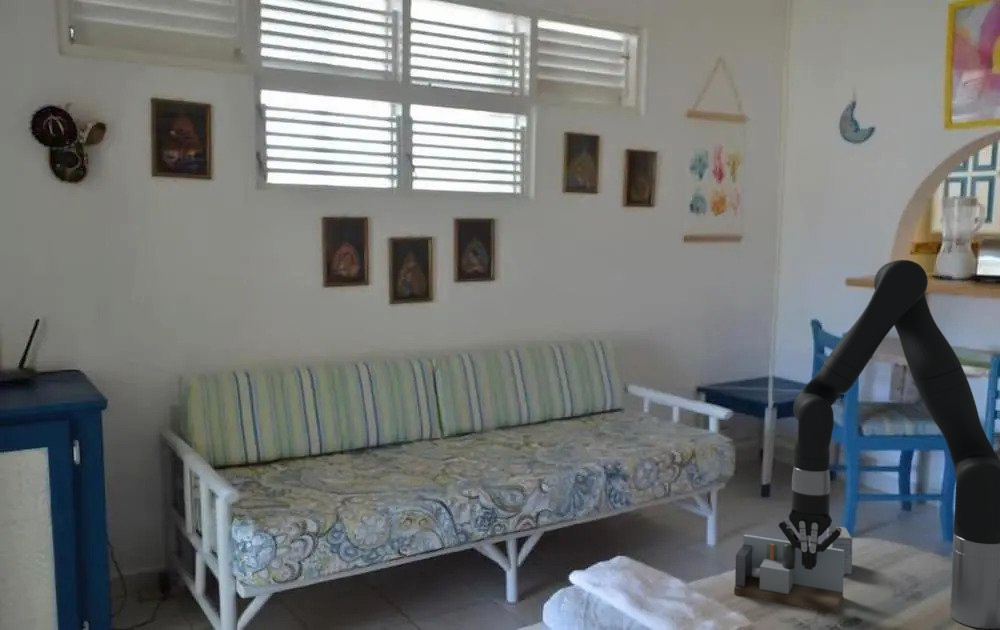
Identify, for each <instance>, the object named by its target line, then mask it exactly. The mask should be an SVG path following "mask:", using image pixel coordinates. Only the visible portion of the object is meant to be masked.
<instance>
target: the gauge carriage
mask: <svg viewBox="0 0 1000 630" xmlns="http://www.w3.org/2000/svg"><path fill="white" fill-rule="evenodd" d="M774 556H775V544H772V543H771V544H770V559H764V561H763V562H762V564H761V566H760V568H755V567H753V569H752V577H757V578H760V589H763V590H768V591H774V592H779V593H785V594H789V592H790V590H791V588H792V586H793V569H794V568H795V547H793V545H792V544H791V543H784V544H783V562H782V561H776V560H774Z"/></svg>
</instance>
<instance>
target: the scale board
mask: <svg viewBox="0 0 1000 630" xmlns="http://www.w3.org/2000/svg"><path fill="white" fill-rule="evenodd" d="M742 543H743V545H749V546H752V569H753V567H755V568H760V566H761V564H762V562H763V561H764V559H770V544H771V543H772V544H775V556H774V560H776V561H782V562H783V544H784V543H790V541H789V540H785V539H776V538H770V537H765V536H757V535H751V534H743V542H742ZM743 545H742V546H743ZM809 550H810V543H809ZM844 576H845V574H844V550H842V549H836V548H829V547H828V548H827V549H826V550H825V551H823V552H821V551H820V552H817V564H816V566H815V568H814V567H813V569H812V570H809V569H805V566H802V551H801V550H800V549H799V548H795V568H794V569H793V584H799V585H804V586H810V587H816V588H821V589H827V590H832V591H838V592H843V593H844Z"/></svg>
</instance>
